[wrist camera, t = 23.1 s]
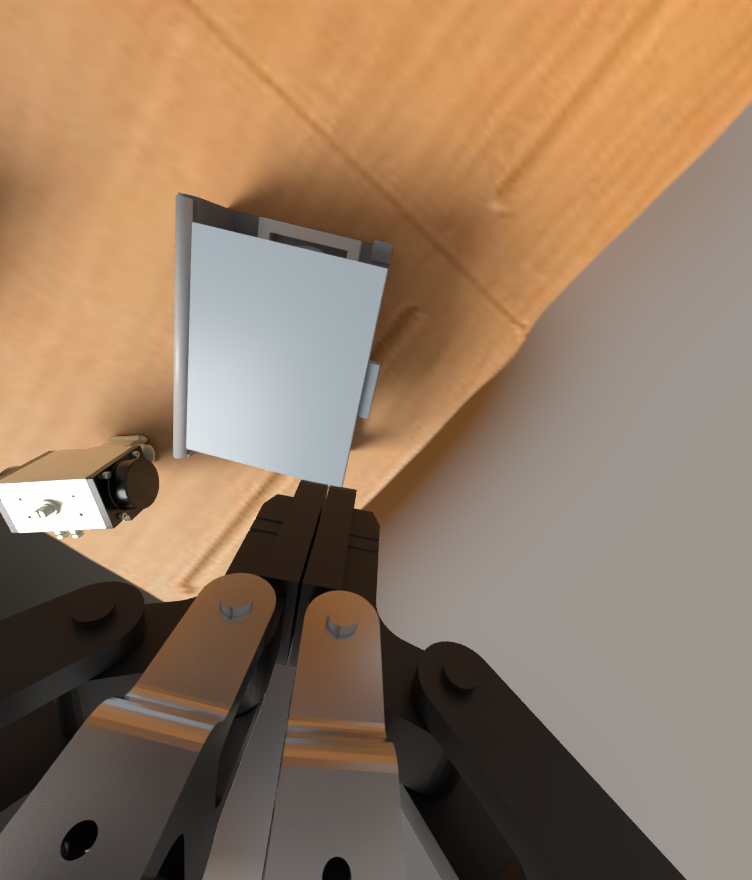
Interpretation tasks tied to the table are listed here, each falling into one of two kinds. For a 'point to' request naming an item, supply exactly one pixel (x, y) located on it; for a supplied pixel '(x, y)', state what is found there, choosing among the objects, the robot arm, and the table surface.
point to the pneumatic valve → (80, 488)
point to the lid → (279, 353)
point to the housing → (253, 226)
